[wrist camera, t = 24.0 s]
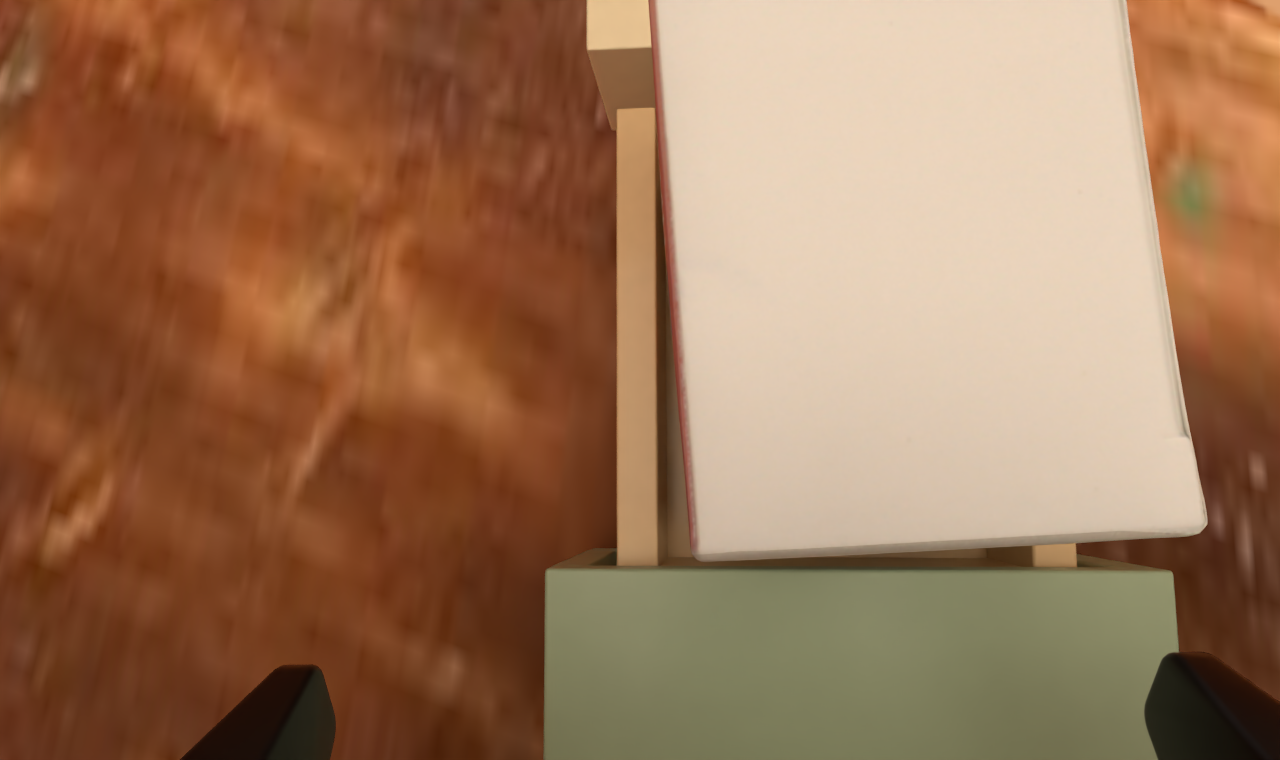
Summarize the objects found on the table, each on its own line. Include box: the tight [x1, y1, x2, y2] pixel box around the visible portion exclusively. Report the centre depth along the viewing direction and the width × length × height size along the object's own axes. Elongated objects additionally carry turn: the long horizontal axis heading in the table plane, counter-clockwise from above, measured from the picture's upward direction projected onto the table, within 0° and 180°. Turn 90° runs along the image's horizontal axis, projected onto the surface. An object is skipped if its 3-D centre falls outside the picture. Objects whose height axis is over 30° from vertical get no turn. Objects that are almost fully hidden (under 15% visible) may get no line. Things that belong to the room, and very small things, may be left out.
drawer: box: [587, 0, 1077, 567], centre depth 20 cm, size 17×10×4 cm, turn 0°
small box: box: [648, 0, 1207, 562], centre depth 15 cm, size 8×6×10 cm
